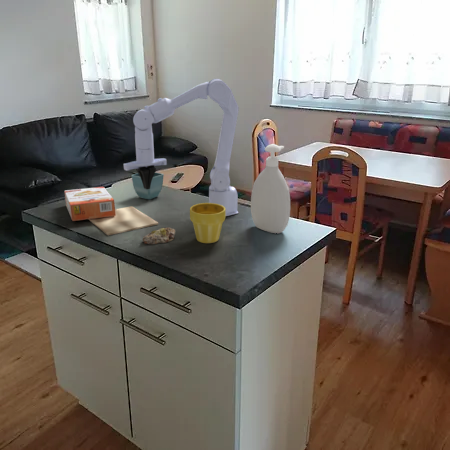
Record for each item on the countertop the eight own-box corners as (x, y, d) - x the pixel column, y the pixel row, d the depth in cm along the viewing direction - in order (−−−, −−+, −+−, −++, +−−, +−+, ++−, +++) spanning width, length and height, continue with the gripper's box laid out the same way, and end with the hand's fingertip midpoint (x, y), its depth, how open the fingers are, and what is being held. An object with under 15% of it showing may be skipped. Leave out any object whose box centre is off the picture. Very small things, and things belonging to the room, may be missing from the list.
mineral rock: (164, 224, 141) (179, 224, 135) (167, 237, 142) (182, 238, 136) (134, 233, 135) (148, 234, 129) (137, 247, 135) (151, 249, 129)
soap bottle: (296, 231, 142) (303, 145, 133) (281, 238, 137) (286, 149, 127) (260, 220, 152) (263, 138, 142) (244, 226, 146) (247, 142, 137)
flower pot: (165, 196, 175) (164, 173, 172) (149, 202, 168) (148, 178, 165) (147, 192, 180) (146, 170, 176) (132, 198, 173) (130, 175, 169)
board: (132, 207, 162) (131, 206, 162) (158, 224, 147) (158, 222, 147) (85, 216, 153) (84, 215, 153) (107, 235, 138) (107, 233, 137)
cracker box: (70, 203, 144) (63, 189, 162) (72, 221, 145) (65, 206, 164) (114, 198, 149) (103, 185, 167) (116, 216, 151) (105, 201, 169)
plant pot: (213, 248, 129) (214, 216, 126) (183, 241, 134) (182, 210, 131) (231, 237, 138) (231, 206, 134) (202, 230, 142) (202, 200, 139)
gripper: (158, 143, 154) (160, 182, 159) (118, 148, 147) (121, 189, 151) (169, 147, 149) (170, 187, 154) (127, 152, 141) (130, 194, 146)
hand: (147, 188), depth 152 cm, fingers closed
